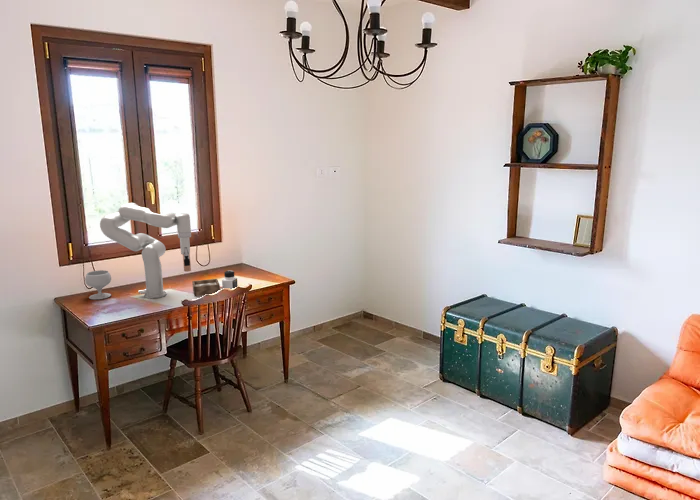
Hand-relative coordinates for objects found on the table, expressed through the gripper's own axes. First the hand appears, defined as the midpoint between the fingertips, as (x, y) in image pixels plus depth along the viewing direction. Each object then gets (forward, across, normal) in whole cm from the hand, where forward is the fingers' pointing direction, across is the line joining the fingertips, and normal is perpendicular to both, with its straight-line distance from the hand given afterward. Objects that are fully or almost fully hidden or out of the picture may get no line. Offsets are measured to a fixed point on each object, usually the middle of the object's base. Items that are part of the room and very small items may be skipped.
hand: (187, 264), depth 301 cm
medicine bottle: (+20, -4, +25) cm, 32 cm away
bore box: (+19, -4, +10) cm, 22 cm away
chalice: (+19, -16, -51) cm, 56 cm away
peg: (+4, 0, 0) cm, 4 cm away
